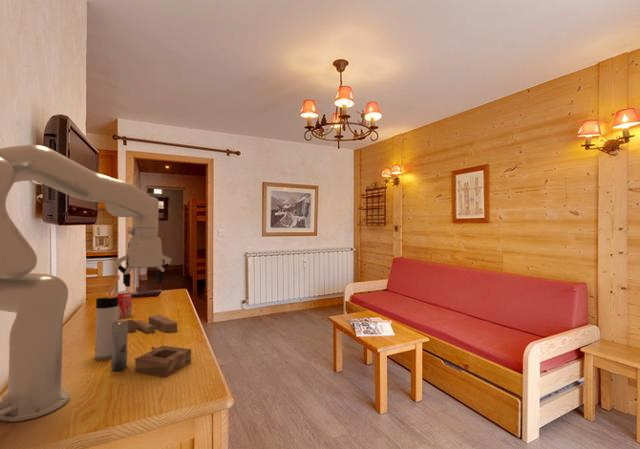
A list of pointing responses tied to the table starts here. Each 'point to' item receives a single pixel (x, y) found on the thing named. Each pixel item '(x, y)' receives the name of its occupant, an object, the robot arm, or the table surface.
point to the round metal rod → (119, 346)
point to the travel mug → (105, 326)
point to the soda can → (124, 304)
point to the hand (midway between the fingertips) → (143, 284)
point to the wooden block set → (153, 324)
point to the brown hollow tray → (162, 361)
